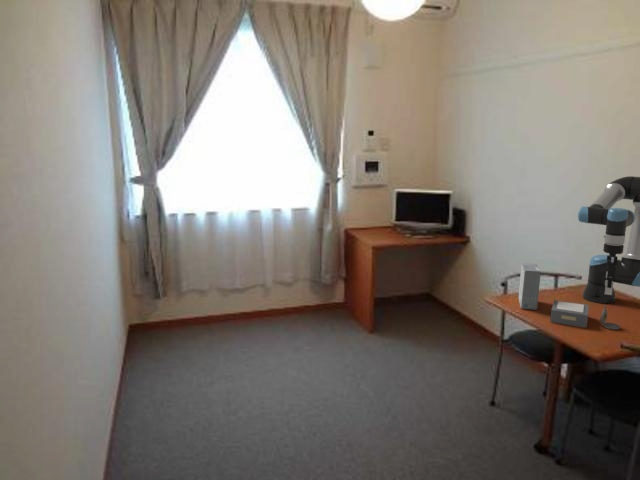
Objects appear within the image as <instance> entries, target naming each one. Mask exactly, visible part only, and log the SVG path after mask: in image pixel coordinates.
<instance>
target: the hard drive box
mask: <svg viewBox="0 0 640 480" xmlns="http://www.w3.org/2000/svg"><path fill="white" fill-rule="evenodd" d="M541 274H542V271H541V270H540V268H539V266H538V264H537V263H530V262H529V263H527V262H521V266H520V277H519V289H518V301H519V306H520V309H523V310H535V311H537V310H538V303H539V293H540V283H541Z"/></svg>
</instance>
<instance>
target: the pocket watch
mask: <svg viewBox="0 0 640 480" xmlns="http://www.w3.org/2000/svg"><path fill="white" fill-rule="evenodd" d="M607 318H608V310H607V305H606V304H604V306H603V309H602V312H601V315H600V320H599V321H600V324H601V325H602V326H603V328H605V329H608V330H614V331H615V330H616V331H617V330H619V329H621V326H620V325H619V324H617V323H613V322H607Z"/></svg>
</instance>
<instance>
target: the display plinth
mask: <svg viewBox="0 0 640 480" xmlns="http://www.w3.org/2000/svg"><path fill="white" fill-rule="evenodd" d="M589 306H590V305H589V304H584V303H577V302H570V301H562V300H556V299H554V300H553V302H552V307H551V309H550V320H549V321H550V323H553V324H560V325H566V326H573V327H578V328H585V329H587V326H588V318H589Z"/></svg>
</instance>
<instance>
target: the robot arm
mask: <svg viewBox="0 0 640 480" xmlns="http://www.w3.org/2000/svg"><path fill="white" fill-rule="evenodd" d="M622 200H630V201H631V200H632V205H633V206H634V212H633V211H632V210H630V209H626V208H622V207H620V208H619V207H614V206H615V205H616V204H617V202H619V201H622ZM577 219H578V222H580V223H585V224H590V225H591V224H593V225H602V226H606V227H605V235H603V238H604V244H603V252H604V253H606V254H598V255H597V254H596V255H593V256H592V257H591V258H590V261H589V264H588V266H589V267H588V268H589V269H588V277H587V278H588V279H587V283H586V286H585V288H584V290H583V291H582V298H583V299H584V300H586V301H590V302H594V303H596V304H597V303H598V304H612V303H615V302H616V294H615V288H614V283H617V284H620V285H621V284H622V285H627V286H631V287H638V288H640V176H633V175H632V176H630V175H629V176H623V177H621V178H617V179H615V180H613V181H611V182H610V183H608V184H607V185H606V186H605V187H604V189H603V192H602V193H601V194H600V195H599V196H598V197H597V198H596V199H595V200H594V202H593V203H592V204H591V205H590V206H587V205H586V206H581V207H580V208H579V210H578V213H577ZM629 226H631V227H630V233H629V237H628V242H627V247H626V252H625V253H626V254H624V255H623V256H621V259H618V255H622V254H623V253H624V244H625V242H626V232H627V227H629ZM616 255H617V256H616Z"/></svg>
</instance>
